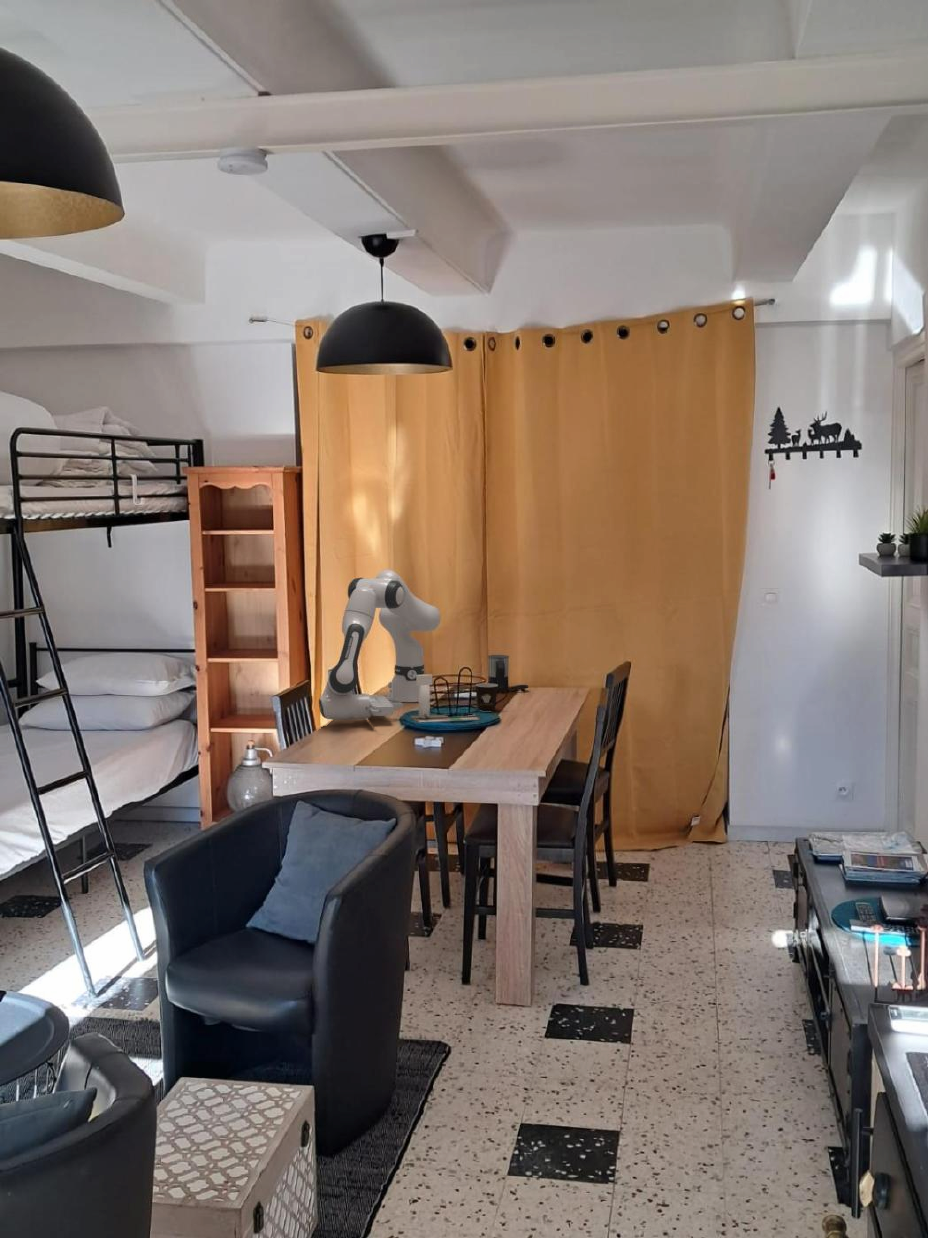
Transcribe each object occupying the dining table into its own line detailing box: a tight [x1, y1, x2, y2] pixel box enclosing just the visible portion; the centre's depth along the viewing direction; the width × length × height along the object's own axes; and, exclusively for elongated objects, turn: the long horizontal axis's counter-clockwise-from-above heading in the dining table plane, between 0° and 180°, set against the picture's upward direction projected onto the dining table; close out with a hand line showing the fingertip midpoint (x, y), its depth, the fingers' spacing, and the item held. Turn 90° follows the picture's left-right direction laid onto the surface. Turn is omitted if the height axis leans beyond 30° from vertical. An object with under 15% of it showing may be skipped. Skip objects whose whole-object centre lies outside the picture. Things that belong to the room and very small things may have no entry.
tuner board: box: [410, 713, 482, 723], centre depth 440 cm, size 12×24×2 cm, turn 103°
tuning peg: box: [416, 674, 433, 718], centre depth 436 cm, size 8×6×16 cm
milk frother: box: [487, 654, 529, 693], centre depth 507 cm, size 14×16×15 cm
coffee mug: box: [475, 682, 508, 713], centre depth 461 cm, size 12×9×10 cm
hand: (402, 705), depth 436 cm, fingers closed
